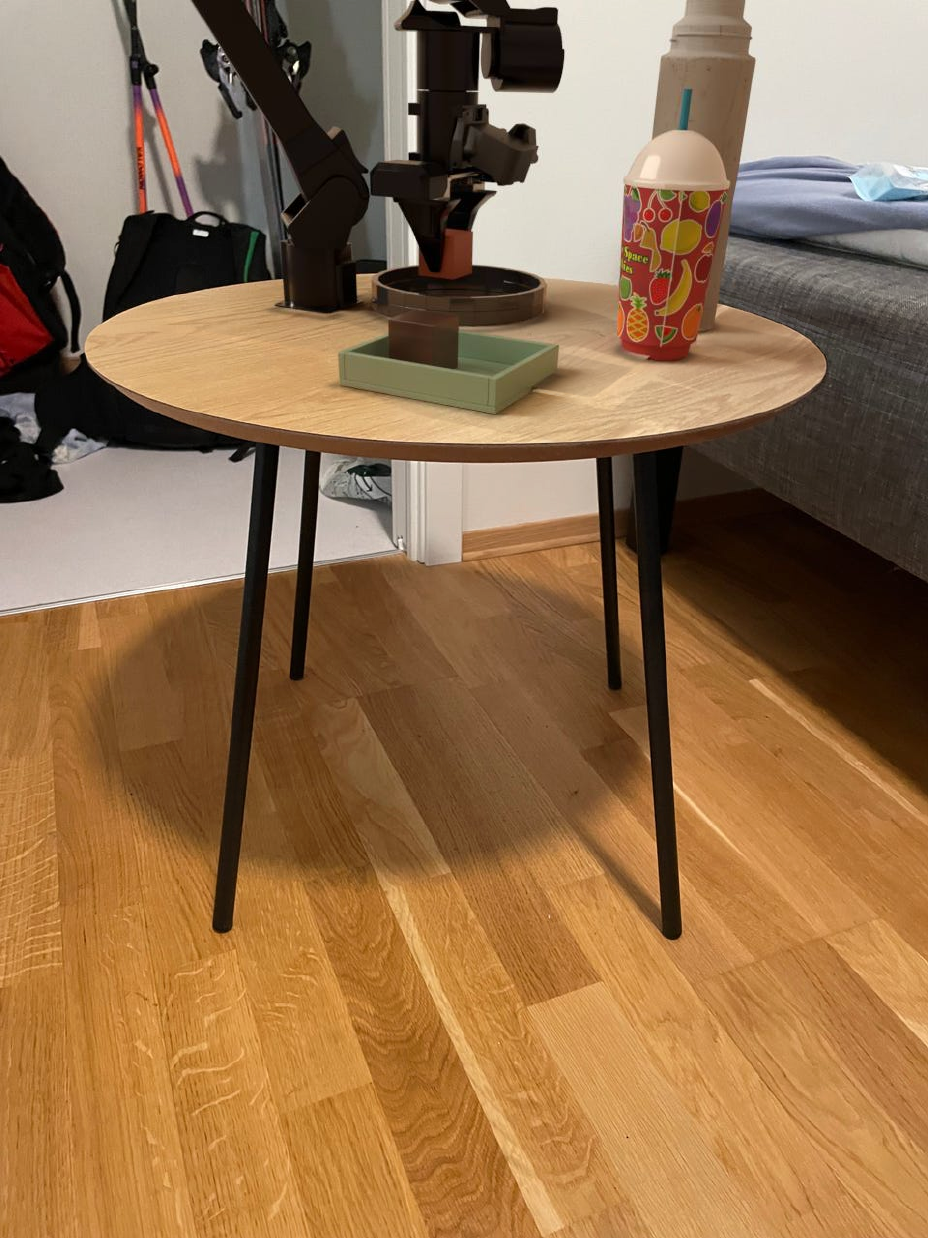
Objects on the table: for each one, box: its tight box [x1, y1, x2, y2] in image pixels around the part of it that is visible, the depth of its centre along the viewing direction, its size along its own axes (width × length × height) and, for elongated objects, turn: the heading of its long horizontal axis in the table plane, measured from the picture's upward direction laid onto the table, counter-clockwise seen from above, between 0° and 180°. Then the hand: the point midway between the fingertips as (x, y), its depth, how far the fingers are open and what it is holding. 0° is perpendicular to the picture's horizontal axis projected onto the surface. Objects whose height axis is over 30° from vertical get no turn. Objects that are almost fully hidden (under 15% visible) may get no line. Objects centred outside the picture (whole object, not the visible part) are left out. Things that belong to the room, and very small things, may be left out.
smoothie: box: [616, 89, 730, 362], centre depth 76 cm, size 8×8×20 cm
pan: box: [371, 264, 548, 327], centre depth 93 cm, size 17×17×3 cm
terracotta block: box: [418, 229, 474, 280], centre depth 93 cm, size 4×4×4 cm
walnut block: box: [387, 309, 460, 369], centre depth 72 cm, size 4×4×4 cm
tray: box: [337, 329, 560, 415], centre depth 72 cm, size 13×11×2 cm
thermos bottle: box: [651, 0, 757, 333], centre depth 84 cm, size 8×8×28 cm
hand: (445, 268), depth 94 cm, fingers closed on terracotta block, 4 cm apart
